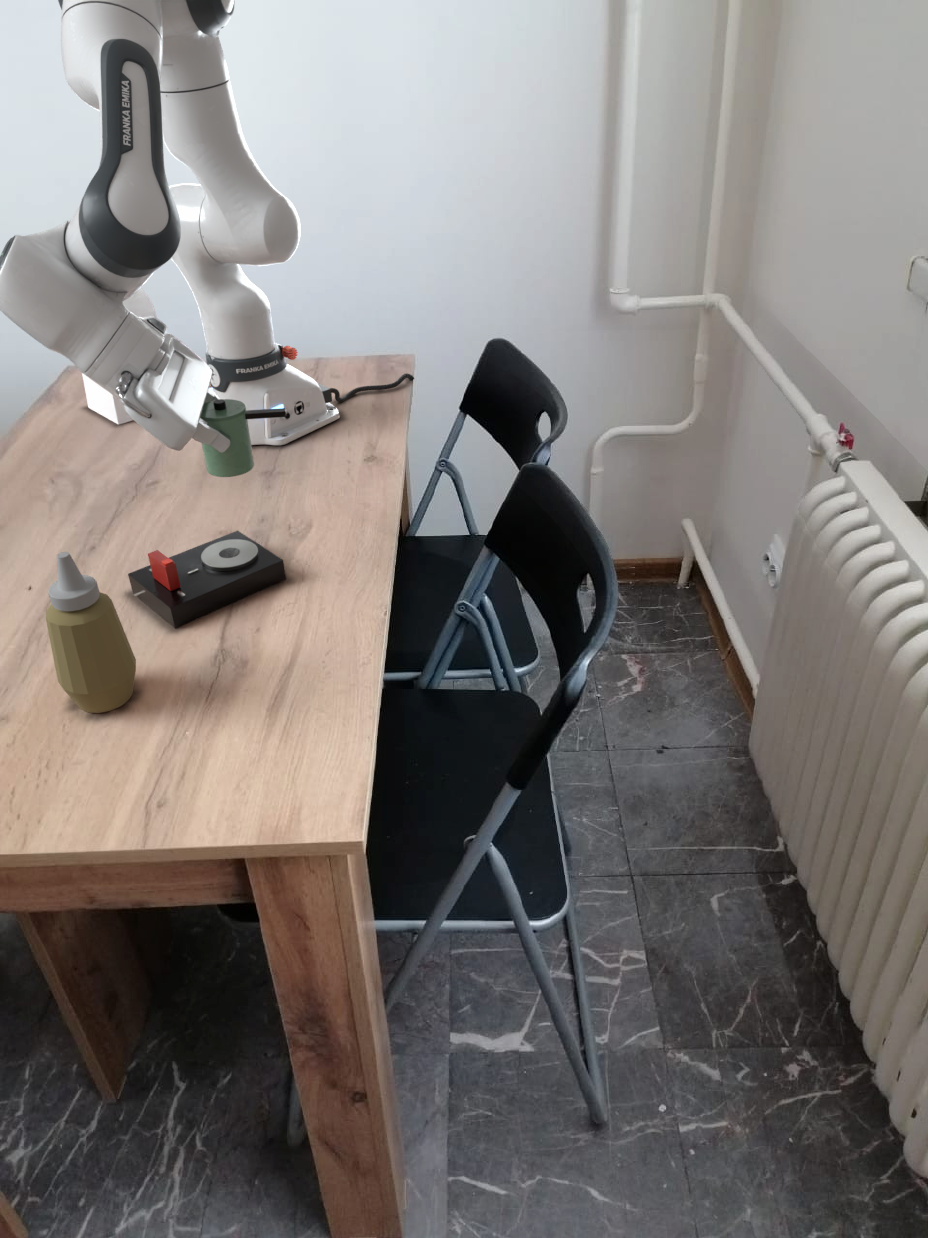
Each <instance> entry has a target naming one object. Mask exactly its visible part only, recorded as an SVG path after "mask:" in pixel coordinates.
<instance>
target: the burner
mask: <svg viewBox="0 0 928 1238" xmlns="http://www.w3.org/2000/svg"><path fill="white" fill-rule="evenodd" d="M257 557H258V548H257V546H256V545H255V544H254V543H252V542H250V541H246V540H240V539H232V540H224V541H220V542H217V543H214V544H212V545H210V546H209V547H207V548H206V549H205V550H204V551H203V552H202V554H201V560H202V563H203V565H204V566H205V567H207V568H209V569H211V570H215V571H232V570H237V569H241V568H244V567H246V566H248V565H250V564H252V563H253V562H254V561H255V560H256V559H257Z"/></svg>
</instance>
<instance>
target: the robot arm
mask: <svg viewBox="0 0 928 1238" xmlns="http://www.w3.org/2000/svg"><path fill="white" fill-rule="evenodd" d="M57 2H58V4H59V7H60V9H61V17H60V21H61V22H60V24H61V25H60V48H61V49H60V50H61V57H62V58H61V61H62V66H63V71H64V76H65V80H66V83H67V85H68V86H69V88H70V89H71V90H72V92H73V93H74V94H75V95H76V96H77V97H78V98H79V99H80V100H81V101H82V102H83V103H85V104H86V105H87V106H89V107H91V108H92V109H94V110H96V111H98V112H99V147H100V148H99V153H100V156H99V158H100V159H99V160H100V161H99V166H98V169H97V171H96V172H95V174H94V175H93V177H92V178H91V180H90V181H89V183H88V185H87V188H86V189H85V192H84V194H83V196H82V198H81V201H80V204H79V205H78V206H77V209H76V211H75V212H74V214H73V215H72V217H71V218H70V221H69V220H66V221H64V222H63V223H61V224H59V225H56V226H54V227H52V228H49V229H47V230H44V231H40V232H36V233H32V234H23V235H22V234H14V236H13V237H10V238H9V240H7V242H6V244H5V245H4V247H3V249H2V251H1V254H0V312H1V313H3V315H5V317H6V318H8V320H10V321H11V322H13V323H14V324H15V325H16V326H18V328H20V330H22V331H24V333H26V334H27V335H29V336H30V337H31V338H33V340H35V341H36V342H38V343H39V344H40V345H42V346H43V347H45V348H46V349H48V350H49V351H52V352H55V353H57V354H59V355H62V356H63V357H65V358H66V359H68V360H69V361H70V362H71V363H72V364H73V365H74V366H75V368H76V369H77V370H78V371H79V372H80V373H81V374H82V373H83V374H84V375H86V376H87V377H89V378H90V379H91V380H93V381H94V382H95V383H97V384H98V385H100V386H101V387H103V388H104V389H105V390H107V391H108V392H110V393H111V394H112V395H114V396H115V397H116V398H118V399H122V403H123V404H125V405H124V407H125V410H126V412H127V413H128V415H129V416H130V417H131V418H132V419H133V420H132V421H134V422H135V423H136V424H138V425H139V426H140V427H141V428H142V429H143V430H145V431H146V432H147V433H148V434H150V435H151V436H152V437H153V438H155V439H156V440H158V441H159V442H160V443H161V444H163V445H164V446H166V447H167V448H169V449H171V450H174V451H178V452H180V451H182V450H183V449H184V447H186V445H187V444H188V443H189V442H190V441H191V439H192V440H194V441H195V442H198V443H201V444H202V443H204V444H207V445H211V446H212V447H213V448H215V449H216V450H218V451H219V452H225V451H226V449H227V448H228V447H229V446H230V442H231V438H230V436H228V435H226V434H225V433H224V432H223V431H222V430H219V431H217V430H215V429H213V428H211V427H209V426H208V425H207V422H205V421H204V420H203V419H201V418H200V416H201V413H202V409H203V406H204V403H206V402H210V401H214V400H218V399H232V400H238V401H241V402H243V403H244V404H245V406H246V410H262V409H278V408H286V417H277V418H261V419H247V421H248V427H249V433H250V440H251V446H256V445H257V446H259V445H267V446H284V445H287V444H289V443H291V442H293V441H295V440H298V439H299V438H301V437H303V436H305V435H307V434H309V433H312V432H314V431H316V430H319V429H320V428H322V427H324V426H327V425H328V424H331V423H332V422H335V421H337V420H339V419H340V411H339V409H338V407H336V406H335V405H333V404H332V402H333V396H332V394H334V400H335V401H336V402H338V403H343V402H345V401H347V400H348V399H350V398H351V397H353V396H354V395H356V394H357V393H361V392H367V391H368V392H369V391H383V390H391V389H394V388H396V387H398V386H399V385H401V384H402V383H403V381H404V380H406V379H408V380H409V381H410V380H411V381H413V380H415V377H414V376H413V374H410V373H407V372H406V373H403V374H402V375H401V376H399V378H398V379H397V380H395V381H394V382H391V383H388V384H378V385H377V384H376V385H364V386H363V385H362V386H358V387H356V388H353V389H351V390H350V391H349V392H347V394H345V395H344V396H342V397H341V395H340V391H339V390H338V389H337V388H335V387H328V386H326V385H323V384H321V383H319V382H317V381H316V380H315V379H314V378H313V377H311V376H309V375H308V374H306V373H304V372H303V371H301V370H299V369H297V368H295V367H294V366H292V365H290V364H288V362H287V360H286V358H287V359H288V360H289V361H295V360H296V359H297V357H298V353H299V352H298V350H297V349H296V347H292V346H290V345H285V346H284V345H282V344H280V343H277V342H276V341H275V333H274V326H273V319H272V310H271V305H270V304H271V303H270V302H269V299H268V297H267V295H266V294H265V293H264V292H263V290H262V289H260V288H259V287H258V286H256V285H255V284H254V283H253V282H252V281H251V280H250V279H249V278H248V277H247V275H246V274H245V273H244V271H243V269H242V267H241V266H240V265H242V266H249V267H250V266H251V267H262V266H263V267H264V266H272V265H277V264H284V263H286V262H288V261H289V260H290V259H291V258H292V257H293V255H294V254H295V253H296V251H297V250H298V246H299V243H300V239H301V234H302V232H301V230H302V229H301V221H300V217H299V215H298V211H297V209H296V207H295V206H294V204H293V203H292V201H291V200H290V199H289V198H288V197H286V196H285V195H284V194H282V193H281V192H280V191H279V190H278V189H277V188H276V187H275V186H274V185H273V184H272V183H271V182H270V180H269V179H268V178H267V177H266V176H265V174H264V173H263V171H262V170H261V169H260V166H259V165H258V164H257V162H256V160H255V158H254V157H253V154H252V153H251V150H250V149H249V147H248V144H247V142H246V140H245V136H244V133H243V130H242V126H241V123H240V119H239V114H238V111H237V107H236V101H235V97H234V93H233V88H232V84H231V80H230V75H229V74H230V73H229V69H228V65H227V61H226V57H225V54H224V50H223V48H222V43H221V41H220V37H219V35H220V30H221V29H224V28H225V27H226V26H227V25H228V23H229V21H231V18H232V16H233V14H234V11H235V0H57ZM164 145H165V147H166V150H168V152H169V153H170V155H171V156H172V157H173V158H174V159H176V160H177V161H179V162H180V163H182V164H183V165H184V166H185V167H186V168H187V169H189V170H190V172H191V173H192V174H193V175H194V177H195V178H196V179H197V181H198V183H189V182H188V183H187V182H186V183H178V184H172V185H170V186H169V182H168V179H167V175H166V169H165V157H164V153H165V152H164ZM170 260H171V261H172V262H173V263H174V264H175V266H176V267H177V268H178V270H179V272H180V273H181V275H182V276H183V278H184V279H185V281H186V283H187V285H188V287H189V288H190V291H191V292H192V295H193V297H194V300H195V302H196V305H197V308H198V312H199V316H200V320H201V325H202V329H203V335H204V339H205V345H206V350H205V360H204V359H202V357H200V355H198V354H197V353H196V352H195V351H193V349H191V348H190V347H189V346H188V345H186V344H185V343H184V342H183V341H182V340H180V339H179V338H178V337H176V336H175V335H174V334H171V333H169V332H168V330H169V329H168V325H166V323H164V321H162V320H160V319H159V318H158V317H157V316H156V317H157V318H156V317H148V318H141V317H137V316H135V315H134V314H133V313H132V312H129V310H128V309H126V308H125V307H124V305H123V301H124V300H126V299H128V298H129V297H131V296H132V295H134V294H135V293H136V292H137V291H138V289H139V288H140V287H141V288H142V286H144V284H146V283H147V282H148V280H149V279H150V278H151V277H152V276H153V275H154V273H155V272H156V271H158V269H160V268H161V267H162V266H163V265H165V264H166V263H167V262H169V261H170ZM210 386H211V387H210Z"/></svg>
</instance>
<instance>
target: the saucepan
mask: <svg viewBox="0 0 928 1238" xmlns="http://www.w3.org/2000/svg"><path fill="white" fill-rule="evenodd" d="M277 417H286V408H278V409H262V410H246V406H245V404H244V403H243V402H241V401H238V400H232V399H218V400H214V401H210V402H206V403H204V406H203V409H202V413H201V416H200V418H201V419H203V420H204V421H205V422H207V425H208V426H209V427H211V428H213V429H215V430H217V431H219V430H222V431H223V432H224V433H225V434H226V435H228V436H230V438H231V442H230V446H229V447H228V448H227V449H226V451H225V452H219V451H218V450H216V449H215V448H213V447H212V446H211V445H207V444H204V443H201V448H202V453H203V458H204V464H205V469H206V470H205V471H206V472H207V474H209V475H211V476H214V477H218V478H232V477H237V476H238V477H239V476H241V475H245V474H246V473H249V472H250V471H252V469H254V467H255V459H254V454H253V445H251V440H250V433H249V427H248V421H247V419H261V418H277Z"/></svg>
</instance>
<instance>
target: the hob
mask: <svg viewBox="0 0 928 1238" xmlns="http://www.w3.org/2000/svg"><path fill="white" fill-rule="evenodd" d="M232 539H240V540H246V541H250V542H252V543H254V544H255V545H256V546H257V548H258V557H257V559H256V560H255V561H254V562H253V563H252V564H250V565H248V566H246V567H244V568H241V569H237V570H232V571H215V570H211V569H209V568H207V567H205V566H204V565H203V563H202V560H201V554H202V552H203V551H204V550H205V549H206V548H207V547H209V546H210V545H212V544H214V543H217V542H220V541H224V540H232ZM168 558H170V559H171V560H172V561H173V562H175V564H176V568H177V573H178V577H179V582H180V586H181V587H180V588H177V589H175V590H173V591H170V590H168V589H167V588H166V587H165V586H163V585H162V584H161V583H160V582H158V581H157V580H156V579H154V578H153V574H152V570H151V566H150V564H149V565H147V566H144V567H142V568H139V569H136V570H134V571H131V572H129V573H127V576H128V580H129V583H130V588H131V592H132V595H133V596H134V597H136V598H137V599H139V600H140V602H142V603H144V604H145V605H146V606H147V607H148V608H149V609H151V610H152V611H153V612H154V613H156V614H157V615H158V616H159V617H160V618H162V619H163V620H164V621H165V622H166V623H168V624H169V625H170V626H171V627H172V628H174V629H178V628H181V627H183V626H185V625H188V624H189V623H192V622H194V621H197V620H199V619H201V618H202V617H205V616H208V615H210V614H212V613H214V612H217V611H218V610H221V609H223V608H226V607H227V606H230V605H233V604H234V603H237V602H239V601H242V600H243V599H246V598H248V597H250V596H253V595H254V594H257V593H259V592H261V591H264V590H266V589H269V588H270V587H273V586H276V585H277V584H280V583H282V582H284V581H286V580H287V577H286V570H285V563H284V559H283V558H281V557H279V556H278V555H277V554H275V553H273V552H272V551H271V550H269V549H268V548H266V547H265V546H262V545H261V544H260V543H258V542H256V541H255V540H253V539H252V538H250V537H248V536H247V535H245V534H244V533H242V532H241V531H239V530H235V531H232V532H230V533H227V534H225V535H223V536H219V537H218V538H215V539H212V540H209V541H208V542H205V543H202V544H199V545H197V546H195V547H192V548H190V549H187V550H184V551H182V552H179V553H177V554H174V555H172V556H169V557H168Z"/></svg>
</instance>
